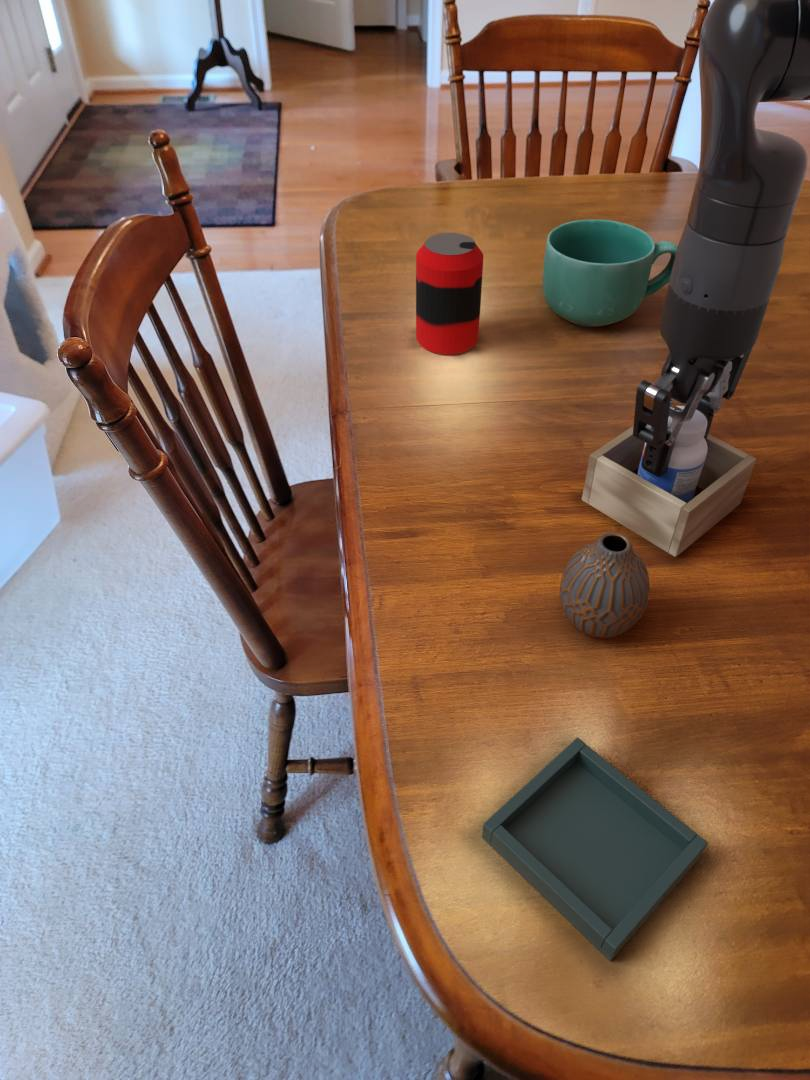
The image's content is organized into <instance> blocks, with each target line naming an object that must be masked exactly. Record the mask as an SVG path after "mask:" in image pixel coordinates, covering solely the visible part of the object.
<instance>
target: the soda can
mask: <svg viewBox="0 0 810 1080" xmlns="http://www.w3.org/2000/svg"><path fill="white" fill-rule="evenodd" d="M483 270H484V253H483V251H482V250H481V249H480V247H479V246H478V245H477V243H476V241H475V240H474V239H473V238H472V237H471V236H469V235H466V234H463V233H458V232H441V233H436V234H433V235H431V236H429V237H427V238H426V240H425V241H424V243H423V244H422V245H421V246H420V248H419V249H418V250H417V252H416V255H415V338H416V339H415V340H416V341H417V343H418V345H420V346H421V347H422V348H423V349H424V350H426V351H428V352H429V353H433V354H436V355H441V356H442V355H445V356H449V355H452V356H453V355H458V354H462V353H466V352H468V351H469V350H471V349H472V348H474V347H475V345H477V343H478V341H479V336H480V320H481V307H482V306H481V305H482V290H483V289H482V287H483V274H484V273H483Z"/></svg>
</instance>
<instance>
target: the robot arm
mask: <svg viewBox="0 0 810 1080" xmlns="http://www.w3.org/2000/svg"><path fill="white" fill-rule="evenodd" d="M700 30H701V31H700V34H699V41H698V42H699V43H698V72H699V73H698V74H699V86H700V87H699V88H700V89H699V91H700V112H701V118H700V120H701V121H700V153H699V154H700V156H699V166H698V170H697V176H696V180H695V184H694V188H693V192H692V197H691V201H690V205H689V210H688V214H687V219H686V222H685V225H684V229H683V231H682V234H681V236H680V239H679V241H678V245H677V246H678V247H677V251H676V255H675V259H674V264H673V268H672V272H671V277H670V281H669V282H668V286H667V291H666V295H665V299H664V303H663V308H662V313H661V317H660V320H659V333H660V336H661V338H662V339H663V340H664V342H665V344H666V346H667V348H668V351H669V353H668V354H667V358H666V360H665V362H664V364H663V366H662V368H661V372H660V377H658V379H656V380H655V381H654V382H653V383H652V382H650V381H648V380H646V379H643V380H642V381H640V382H639V384H638V386H637V388H636V394H635V405H634V416H633V426H634V427H633V436H634V437H636V438H638V439H640V440H642V441H644V442H645V443H646V447H645V451H644V455H643V459H642V463H641V465H642V468H643V469H644V470H646V471H648V472H649V473H651V474H653V475H655V476H656V477H661V476H663V475H664V474H665V473H666V472H667V469H668V465H669V462H670V458H671V454H672V451H673V447H674V443H675V439H676V437H677V435H678V433H679V431H680V429H681V427H682V425H683V423H684V422H686V421H690V420H691V419H692V417H693V415H694V413H695V411H696V410H698V411H700V412H701V413H702V414H703V415H704V416H705V417H706V419H707V422H708V423H707V428H706V432H705V435H704V438H705V440H706V439H707V436H708V434H709V432H710V429H711V426H712V422H713V420H714V417H715V414H717V413H718V412H719V411H720V410H721V408H722V406H723V399H725V400H727V401H730V400H731V398H732V397H733V396H734V395H735V392H736V390H737V387H738V384H739V382H740V380H741V377H742V375H743V372H744V370H745V367H746V365H747V362H748V360H749V357H750V355H751V353H752V350H753V347H754V346H755V344H756V343H757V340H758V337H759V333H760V329H761V328H762V324H763V321H764V318H765V315H766V312H767V309H768V305H769V303H770V299H771V297H772V293H773V290H774V288H775V284H776V281H777V278H778V275H779V271H780V269H781V264H782V259H783V255H784V248H785V243H786V238H787V235H788V231H789V228H790V225H791V221H792V219H793V216H794V212H795V209H796V206H797V203H798V199H799V196H800V195H801V191H802V188H803V185H804V181H805V178H806V174H807V169H808V162H809V161H808V159H809V158H808V154H807V151H806V148H805V147H804V145H802V144H801V143H800V142H799V141H798V140H796V139H794V138H793V137H790V136H788V135H784V134H781V133H779V132H774V131H770V130H766V129H761V128H757V127H756V121H755V118H756V111H757V108H758V105H759V103H772V102H774V103H776V102H795V101H796V102H797V101H798V102H801V101H802V102H803V101H810V0H713V1H712V3H711V4H710V6H709V8H708V11H707V13H706V14H705V17H704V19H703V22H702V26H701V29H700ZM674 401H676V402H678V403H680V404H683V405H684V406H685V407H684V409H681V408H679V407H677V406H678V405H674ZM669 416H670V417H671V418H672V423H671V425H670V427H669V429H667V426H668V418H669Z"/></svg>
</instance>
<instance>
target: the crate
mask: <svg viewBox="0 0 810 1080" xmlns="http://www.w3.org/2000/svg"><path fill="white" fill-rule="evenodd" d="M633 427H634V425H632V426H630V427H628V428H627V429H626V430H625V431H623V432H622V433H620V434H619V435H617V436H616V437H614V438H612V439H611V440H610V441H609V442H607V443H606V444H604V445H603V446H601V447H599V448H598V449H596V450H595V451H593V452H592V453H590V454H589V457H588V464H587V468H586V473H585V480H584V485H583V491H582V494H581V495H582V496H581V501H582V502H583V503H586V504H587V505H589V506H591V507H592V508H594V509H596V510H597V511H598V512H600V513H602V514H603V515H605V516H607V517H608V518H609V519H612V520H613V521H615V522H617V523H619V524H620V525H622V526H623V527H625V528H626V529H628V530H630V531H631V532H633V533H634V534H636V535H638V536H640V537H641V538H642V539H645V540H646V541H647V542H649V543H650V544H653V545H654V546H655V547H658V548H659V549H661V550H662V551H664V552H665V553H668V554H669V555H670V556H672V557H674V558H677V557H678V556H679V555H680V554H681V553H683V552H684V551H686V549H688V547H690V546H691V545H692V544H694V543H695V542H696V541H697V540H698V539H700V538H701V537H702V536H703V535H705V534H706V533H707V532H708V531H709V530H710V529H712V528H713V527H715V525H717V524H718V523H719V522H720V521H721V520H722V519H724V518H725V517H726V516H727V515H728V514H730V513H731V512H732V511H733V510H735V509H736V508H737V507H738V506H739V505H740V504H741V503H742V500H743V497H744V494H745V492H746V488H747V486H748V483H749V481H750V478H751V475H752V472H753V469H754V467H755V464H756V461H757V458H756V457H755V456H752V455H751V454H748V453H746V452H744V451H743V450H741V449H739V448H736V447H735V446H733V445H731V444H729V443H727V442H725V441H723V440H721V439H719V438H717V437H715V436H714V435H711V434H709V433H708V436H707V439H706V442H707V447H708V450H707V455H706V458H705V462H704V465H703V468H702V471H701V474H700V477H699V480H698V483H697V486H696V487H698V488H700V489H702V491H701V492H699V494H697V495H696V496H694V497H693V499H692V500H691V501H690V502H688V503H686V502H684V501H682V500H680V499H678V498H677V497H675V496H673V495H671V494H670V493H668V492H666V491H664V490H663V489H661V488H659V487H657V486H656V485H654V484H652V483H650V482H649V481H647V480H645V479H643V478H641V477H640V476H638V475H637V474H636V473H635V471H636V470H638V469H639V465H640V461H641V457H642V453H643V449H644V445H645V442H644V441H642V440H640V439H638V438H636V437H634V436H633Z"/></svg>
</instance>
